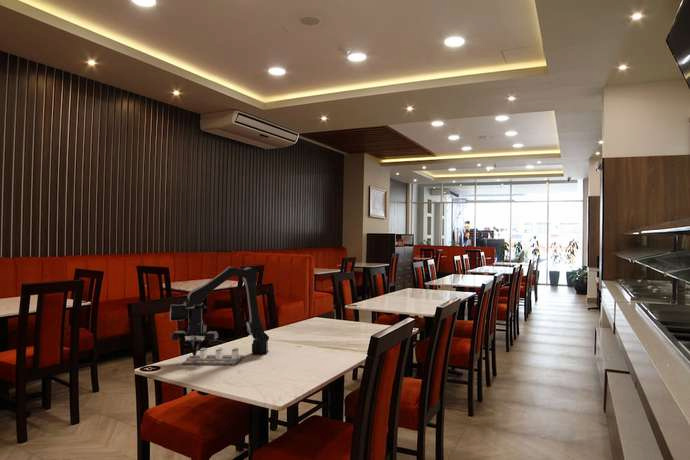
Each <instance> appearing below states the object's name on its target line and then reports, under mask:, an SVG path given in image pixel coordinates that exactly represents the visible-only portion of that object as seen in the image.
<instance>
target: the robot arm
mask: <svg viewBox="0 0 690 460" xmlns="http://www.w3.org/2000/svg"><path fill="white" fill-rule="evenodd" d="M231 277H237V278H242V281H243V283H244V285H245V288H246V289H245V290H246V295H247V296H246V297H247V304H248V305H247V307H248V314H249V321H246V323H245V324H246V328H247V329H246V331H247V332H248V333H249V335H250V336H251V337H252V338H253V340H252V343H251V355H252V356H266V355H267V354H268V353H269V352H270V351H269V339H270V336H269V335H268V334H267V333H266V332H265V328H264V326H263V322H262V320H261V318H260V313H259V305H258V304H259V302H258V297H257V296H258V295H257V282H258V272H257V270H256V269H255V268H253V267H249V266H248V267H245V268H239V267H233V266H228V267H226V268H225V269H224V270H223V271H221V272H220V273H219V274H217V275H216V276H214V277H213V278H212V279H210V280H209V281H207V283H205V284H203V285H201V286H198V287H196V288H194V289H192V290H190V291H189V292H188V295H187V299H185V301H184V302H183V304H170V309H169V322H177V321H184V320H185V319H188V320H187V323H186V325H187V327H188V328H187V332H186V331H185V330H175V331H174V332H172V333H171V336H170V338H171V339H170V340H172V341H174V340H175V341H178V340H179V339H180V338H184V339H185V340H184V341H183V342H184V343H186V344H187V345H188V347H189V349H190V352H191V354H192V356H196V355H198V354H197V353H198V351H199V348H200V345H201V343H202V342H203V341H205V340H206V341H216V340H217V339H218V338H219V333H218V332H217V331H216V330H214V331H213V330H212V331H207V324H204V321H203V310H206V309H207V308H208V307H207V306H206V305H205V303H203V301H204V300H205V299H206V298H207V297H208V295H210V293H211V292H212V291H214V290H215V289H217V288H218V287H220V286H222V284H223V283H225V282H226V281H228V279H230V278H231Z"/></svg>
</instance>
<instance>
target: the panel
mask: <svg viewBox="0 0 690 460" xmlns="http://www.w3.org/2000/svg"><path fill="white" fill-rule="evenodd" d="M244 356H245V355H242V354H238V358H237V359H232V354H223V358H221V359H216V354H207V358H205V359H200V354H196V356H193V355H189V356H187V357H186V359H185V361H183V362H182V365H183V366H236V365H237V364H239V362H240V361H241V360H242V359H244Z"/></svg>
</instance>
